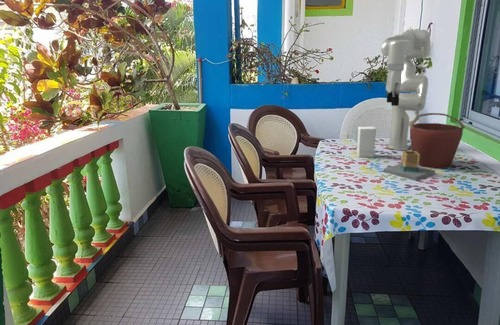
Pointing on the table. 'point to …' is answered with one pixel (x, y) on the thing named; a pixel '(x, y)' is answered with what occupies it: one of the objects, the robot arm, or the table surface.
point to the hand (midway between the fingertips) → (392, 103)
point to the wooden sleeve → (410, 161)
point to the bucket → (435, 142)
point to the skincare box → (366, 141)
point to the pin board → (407, 174)
